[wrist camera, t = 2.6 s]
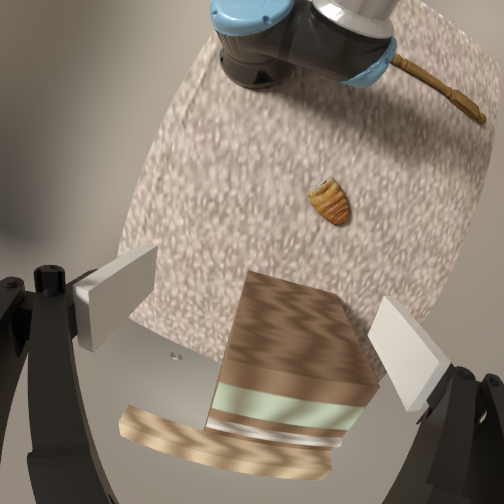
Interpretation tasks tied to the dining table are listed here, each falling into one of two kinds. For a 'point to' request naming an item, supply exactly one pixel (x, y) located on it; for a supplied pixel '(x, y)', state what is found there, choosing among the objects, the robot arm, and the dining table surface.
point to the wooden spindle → (442, 88)
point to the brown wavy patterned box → (290, 369)
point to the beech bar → (223, 448)
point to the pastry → (329, 201)
